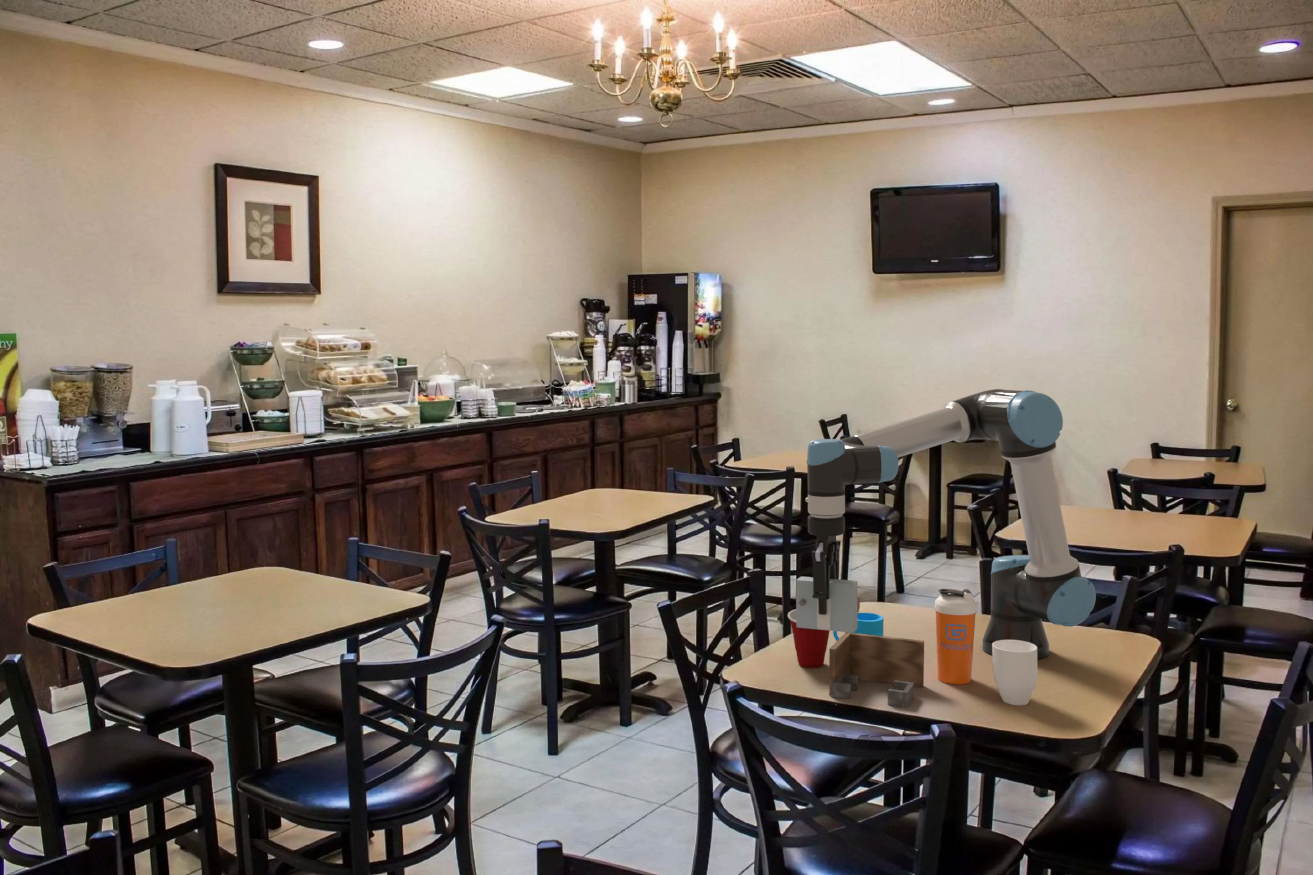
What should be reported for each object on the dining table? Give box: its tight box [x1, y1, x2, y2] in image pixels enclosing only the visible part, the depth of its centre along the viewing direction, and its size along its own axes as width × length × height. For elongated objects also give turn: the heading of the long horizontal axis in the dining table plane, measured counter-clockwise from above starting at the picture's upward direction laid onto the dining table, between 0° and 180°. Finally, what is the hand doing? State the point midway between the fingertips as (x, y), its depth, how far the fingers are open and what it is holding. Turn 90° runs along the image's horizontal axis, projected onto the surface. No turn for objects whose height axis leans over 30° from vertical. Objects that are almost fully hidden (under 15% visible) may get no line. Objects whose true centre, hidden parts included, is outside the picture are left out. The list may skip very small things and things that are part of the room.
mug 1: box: [832, 612, 885, 642], centre depth 256 cm, size 12×8×8 cm
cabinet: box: [828, 632, 925, 708], centre depth 225 cm, size 17×15×10 cm
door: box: [795, 576, 858, 633], centre depth 218 cm, size 12×4×10 cm, turn 65°
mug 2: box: [991, 640, 1038, 706], centre depth 220 cm, size 12×9×12 cm
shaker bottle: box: [934, 588, 978, 685], centre depth 232 cm, size 9×9×20 cm
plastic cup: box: [787, 608, 830, 669], centre depth 244 cm, size 11×11×12 cm
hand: (826, 626), depth 219 cm, fingers closed on door, 3 cm apart
